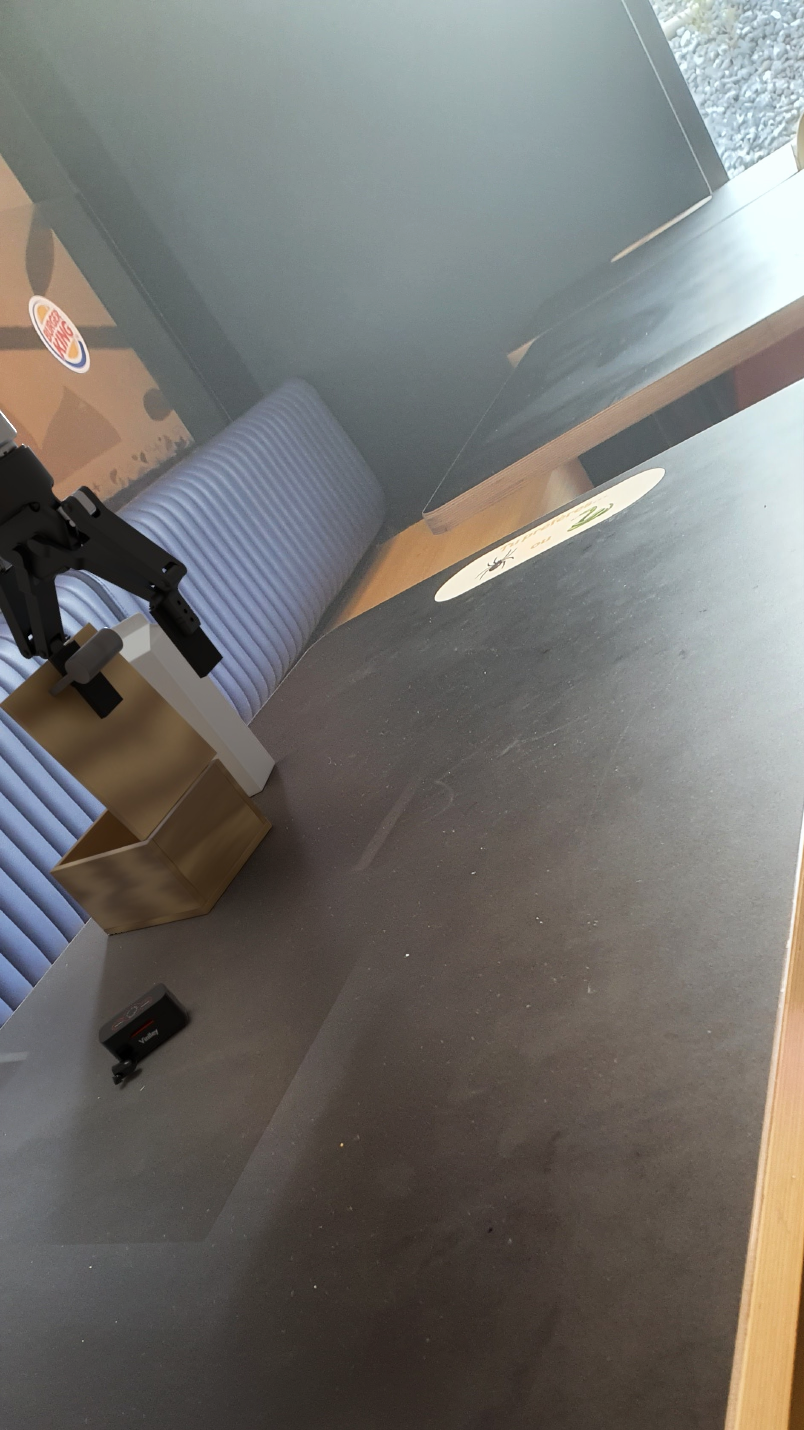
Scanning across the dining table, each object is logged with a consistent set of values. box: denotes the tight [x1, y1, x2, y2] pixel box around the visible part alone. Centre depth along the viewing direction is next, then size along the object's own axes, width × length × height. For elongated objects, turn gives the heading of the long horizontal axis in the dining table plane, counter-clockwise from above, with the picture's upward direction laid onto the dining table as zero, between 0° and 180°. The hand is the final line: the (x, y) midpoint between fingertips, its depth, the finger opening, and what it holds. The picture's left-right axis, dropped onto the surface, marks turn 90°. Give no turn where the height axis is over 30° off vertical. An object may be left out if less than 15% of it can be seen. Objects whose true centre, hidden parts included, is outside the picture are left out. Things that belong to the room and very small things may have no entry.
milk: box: [110, 611, 276, 798], centre depth 123 cm, size 6×6×22 cm
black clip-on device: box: [97, 982, 189, 1086], centre depth 91 cm, size 5×7×3 cm, turn 113°
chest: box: [48, 759, 273, 936], centre depth 114 cm, size 16×13×9 cm
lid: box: [0, 622, 217, 841], centre depth 102 cm, size 16×13×7 cm
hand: (160, 689), depth 98 cm, fingers open, 13 cm apart
